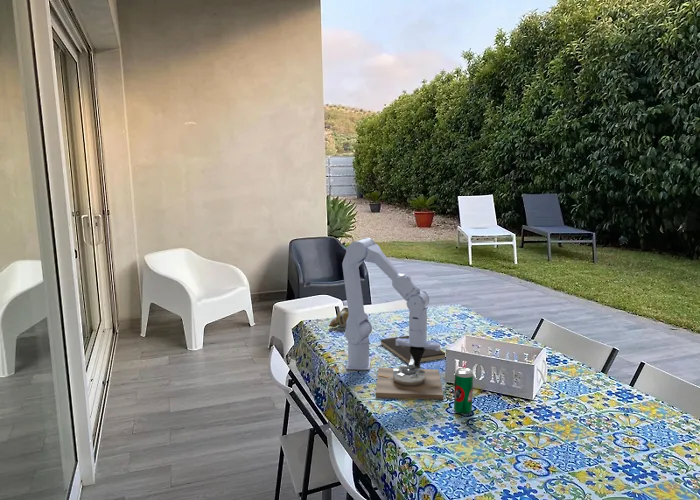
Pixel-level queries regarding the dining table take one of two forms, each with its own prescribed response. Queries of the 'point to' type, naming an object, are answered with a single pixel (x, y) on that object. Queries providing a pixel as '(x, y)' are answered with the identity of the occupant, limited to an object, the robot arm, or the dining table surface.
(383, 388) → the walnut board
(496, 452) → the dining table surface
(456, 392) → the soda can
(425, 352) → the hardcover book
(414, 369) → the silver mechanical part
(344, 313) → the ceramic sculpture
